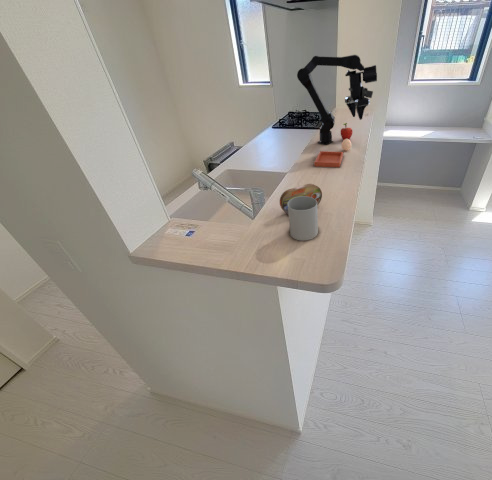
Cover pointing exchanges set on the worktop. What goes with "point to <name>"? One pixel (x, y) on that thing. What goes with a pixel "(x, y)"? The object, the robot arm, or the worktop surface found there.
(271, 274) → the worktop surface
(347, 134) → the apple
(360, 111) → the robot arm
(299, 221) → the cup
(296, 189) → the tin
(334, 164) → the tray
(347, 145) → the egg
